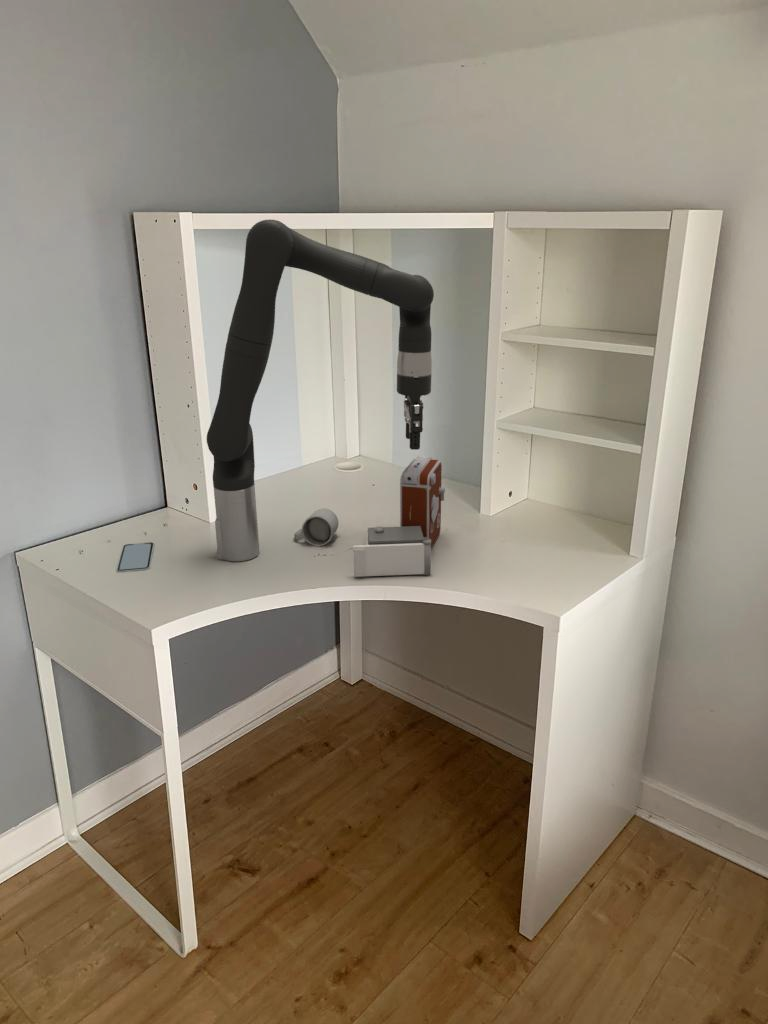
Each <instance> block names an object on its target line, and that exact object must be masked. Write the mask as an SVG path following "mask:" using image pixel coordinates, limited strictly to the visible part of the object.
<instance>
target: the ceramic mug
mask: <svg viewBox="0 0 768 1024" xmlns="http://www.w3.org/2000/svg"><path fill="white" fill-rule="evenodd" d="M338 528H339V518H338V516H337V514H336V513H335V512H334V511H333V510H331V509H329V508H319V509H317V510H315V511H314V512H312V513H311V515H309V516H308V517H307V518H306V519H305V520H304V522H303V524H302V526H301V528H299V529H298V530H296V532H294V533H293V536H294V538H295V541H301V540H305V541H306V542H307V543H308V544H310V545H312V546H315V547H321V546H326V545H327V544H329V542H331V540H332V538H333V537H334V535H335V534H336V532H337V530H338Z"/></svg>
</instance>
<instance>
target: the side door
mask: <svg viewBox="0 0 768 1024" xmlns="http://www.w3.org/2000/svg"><path fill="white" fill-rule="evenodd" d="M352 547H353V548H352V549H353V551H352V552H353V577H379V576H380V577H381V576H385V577H386V576H405V575H406V576H407V575H408V576H409V575H425V576H429V575H431V555H432V553H431V551H432V549H431V544H423V543H408V544H380V545H368V544H359V545H358V544H356V545H353V546H352Z"/></svg>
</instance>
